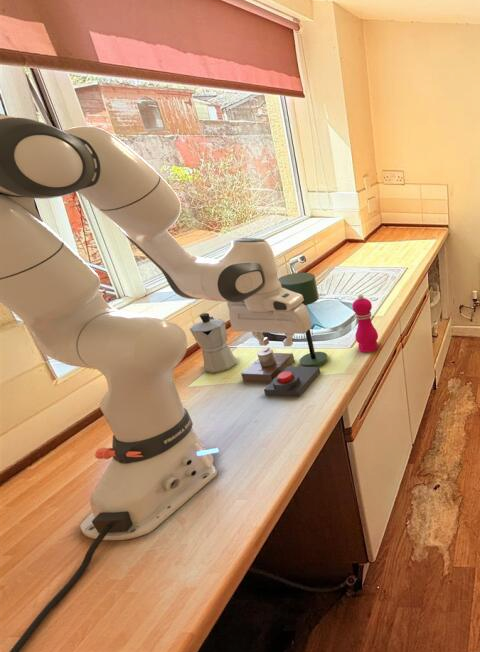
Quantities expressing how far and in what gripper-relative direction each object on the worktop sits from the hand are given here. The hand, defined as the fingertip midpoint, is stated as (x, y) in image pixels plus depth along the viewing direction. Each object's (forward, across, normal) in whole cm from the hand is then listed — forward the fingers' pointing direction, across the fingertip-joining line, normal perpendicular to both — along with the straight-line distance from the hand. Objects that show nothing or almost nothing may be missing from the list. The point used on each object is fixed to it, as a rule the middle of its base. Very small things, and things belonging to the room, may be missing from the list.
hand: (276, 345), depth 109 cm
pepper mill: (+15, +14, +25) cm, 33 cm away
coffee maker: (+15, -29, +12) cm, 35 cm away
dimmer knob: (+12, -11, +9) cm, 19 cm away
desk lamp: (+15, 0, +15) cm, 21 cm away
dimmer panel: (+15, -11, +9) cm, 21 cm away
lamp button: (+12, 0, 0) cm, 12 cm away
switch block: (+15, 0, +3) cm, 15 cm away
